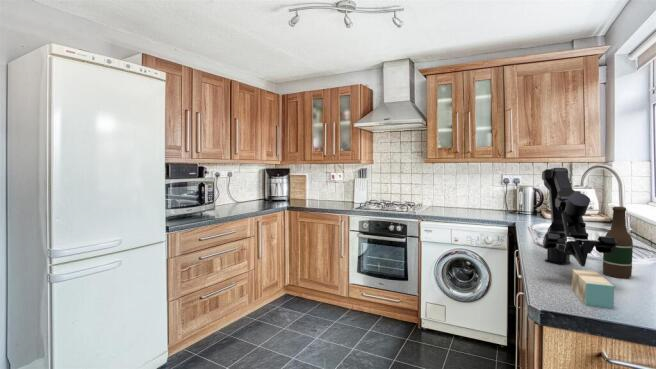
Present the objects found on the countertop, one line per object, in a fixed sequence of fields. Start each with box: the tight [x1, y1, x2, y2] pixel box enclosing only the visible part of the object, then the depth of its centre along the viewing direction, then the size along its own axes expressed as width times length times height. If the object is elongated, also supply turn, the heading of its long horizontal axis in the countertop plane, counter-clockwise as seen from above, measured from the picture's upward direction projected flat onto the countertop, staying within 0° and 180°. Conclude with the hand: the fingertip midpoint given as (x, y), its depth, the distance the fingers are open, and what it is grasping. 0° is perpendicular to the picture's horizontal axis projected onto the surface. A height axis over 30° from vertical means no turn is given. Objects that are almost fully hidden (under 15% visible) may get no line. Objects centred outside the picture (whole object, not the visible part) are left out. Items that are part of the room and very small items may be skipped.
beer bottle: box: [602, 206, 634, 280], centre depth 115 cm, size 8×8×24 cm
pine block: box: [571, 269, 615, 309], centre depth 96 cm, size 6×6×14 cm
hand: (583, 265), depth 103 cm, fingers closed
